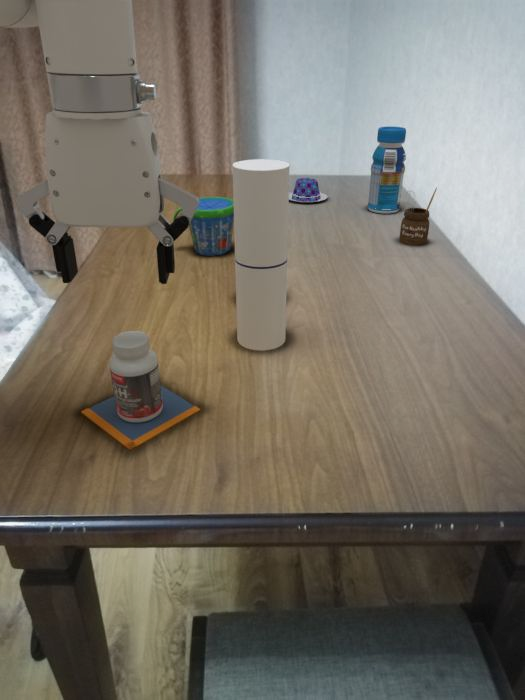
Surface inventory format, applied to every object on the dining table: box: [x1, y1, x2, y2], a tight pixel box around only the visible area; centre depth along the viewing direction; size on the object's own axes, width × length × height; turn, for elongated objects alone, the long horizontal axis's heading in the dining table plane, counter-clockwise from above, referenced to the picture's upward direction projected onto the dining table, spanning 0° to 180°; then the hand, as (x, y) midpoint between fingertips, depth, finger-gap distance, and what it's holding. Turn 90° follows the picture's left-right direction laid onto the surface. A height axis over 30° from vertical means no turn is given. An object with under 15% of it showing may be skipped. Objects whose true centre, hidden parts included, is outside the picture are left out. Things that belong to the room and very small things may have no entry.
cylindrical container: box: [232, 158, 290, 351], centre depth 74 cm, size 7×7×25 cm
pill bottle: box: [108, 330, 163, 423], centre depth 62 cm, size 5×5×10 cm
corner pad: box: [81, 385, 202, 452], centre depth 64 cm, size 10×10×1 cm
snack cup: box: [172, 196, 234, 257], centre depth 111 cm, size 16×10×10 cm
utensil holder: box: [399, 186, 438, 247], centre depth 115 cm, size 6×6×12 cm
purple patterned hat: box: [289, 177, 329, 204], centre depth 149 cm, size 12×12×5 cm
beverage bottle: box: [367, 126, 407, 215], centre depth 136 cm, size 8×8×20 cm
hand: (117, 278), depth 56 cm, fingers open, 9 cm apart
